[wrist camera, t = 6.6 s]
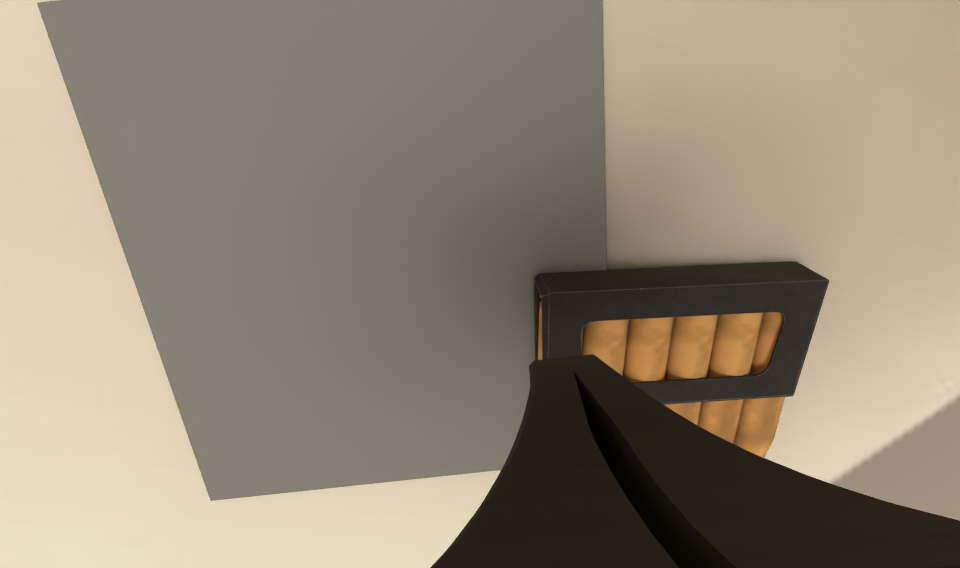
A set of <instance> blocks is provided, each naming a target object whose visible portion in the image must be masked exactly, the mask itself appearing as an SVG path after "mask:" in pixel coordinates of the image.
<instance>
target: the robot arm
mask: <svg viewBox="0 0 960 568" xmlns="http://www.w3.org/2000/svg"><path fill="white" fill-rule="evenodd" d="M529 375H530V390H529V396H528V400H527V404H526V408H525V412H524V416H523V419H522V422H521V425H520V428H519V430H518V433H517V436H516V439H515V442H514V444H513V446H512V449H511V451H510V453H509V456H508V458H507V460H506V462H505V464H504V466H503V468H502V470H501V472H500V474H499V476H498V477H497V479H496V481H495V483H494V484H493V486H492V488H491V489H490V491H489V493H488V494H487V496H486V498H485V499H484V501H483V502H482V504H481V506H480V507H479V509H478V510H477V511H476V513H475V514H474V516H473V517H472V518H471V520H470V521H469V522H468V523H467V525H466V526H465V527H464V529H463V530H462V531H461V533H460V534H459V535H458V537H457V538H456V539H455V540H454V542H453V543H452V544H451V546H450V547H449V548H448V549H447V550H446V551H445V553H444V554H443V555H442V556H441V557H440V558H439V559H438V560H437V561H436V562H435V563H434V564H433V566H432V567H431V568H960V521H958V520H955V519H951V518H947V517H943V516H939V515H935V514H931V513H927V512H923V511H920V510H916V509H912V508H908V507H904V506H900V505H896V504H893V503H889V502H885V501H882V500H879V499H876V498H873V497H870V496H867V495H863V494H860V493H857V492H854V491H851V490H848V489H845V488H841V487H838V486H835V485H833V484H830V483H827V482H824V481H821V480H819V479H816V478H813V477H810V476H807V475H805V474H802V473H800V472H797V471H795V470H792V469H790V468H787V467H785V466H782V465H780V464H777V463H775V462H772V461H770V460H767V459H765V458H763V457H760V456H758V455H756V454H754V453H751V452H749V451H747V450H745V449H743V448H741V447H739V446H737V445H735V444H733V443H731V442H728V441H726V440H724V439H722V438H720V437H718V436H716V435H714V434H712V433H710V432H709V431H707V430H705V429H703V428H701V427H700V426H698V425H696V424H694V423H693V422H691V421H689V420H688V419H686V418H684V417H683V416H681V415H679V414H678V413H676V412H674V411H673V410H671V409H669V408H668V407H666V406H665V405H663V404H662V403H660V402H659V401H657V400H656V399H654V398H653V397H651V396H650V395H648V394H647V393H645V392H644V391H642V390H641V389H640V388H638V387H637V386H635V385H634V384H633V383H631V382H630V381H629V380H627V379H626V378H624V377H623V376H622V375H620V374H619V373H618V372H616V371H615V370H614V369H613V368H611V367H610V366H609V365H607V364H606V363H605V362H603V361H602V360H601V359H599V358H598V357H597V356H595V355H594V354H590V355H581V356H571V357H562V358H553V359H543V360H534V361H533V362H532V363H531V364H530V365H529Z"/></svg>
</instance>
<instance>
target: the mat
mask: <svg viewBox="0 0 960 568" xmlns="http://www.w3.org/2000/svg"><path fill="white" fill-rule="evenodd" d="M37 4H38V7H39V10H40V13H41V16H42V19H43V21H44V24H45V27H46V30H47V33H48V36H49V39H50V42H51V44H52V47H53V50H54V53H55V56H56V59H57V62H58V64H59V67H60V70H61V73H62V76H63V79H64V82H65V85H66V87H67V90H68V93H69V96H70V99H71V102H72V105H73V107H74V110H75V113H76V116H77V119H78V122H79V125H80V128H81V130H82V133H83V136H84V139H85V142H86V145H87V148H88V150H89V153H90V156H91V159H92V162H93V165H94V168H95V171H96V173H97V176H98V179H99V182H100V185H101V188H102V191H103V193H104V196H105V199H106V202H107V205H108V208H109V211H110V214H111V216H112V219H113V222H114V225H115V228H116V231H117V234H118V236H119V239H120V242H121V245H122V248H123V251H124V254H125V256H126V259H127V262H128V265H129V268H130V271H131V274H132V277H133V279H134V282H135V285H136V288H137V291H138V294H139V297H140V299H141V302H142V305H143V308H144V311H145V314H146V317H147V320H148V322H149V325H150V328H151V331H152V334H153V337H154V340H155V342H156V345H157V348H158V351H159V354H160V357H161V360H162V363H163V365H164V368H165V371H166V374H167V377H168V380H169V383H170V385H171V388H172V391H173V394H174V397H175V400H176V403H177V406H178V408H179V411H180V414H181V417H182V420H183V423H184V426H185V428H186V431H187V434H188V437H189V440H190V443H191V446H192V449H193V451H194V454H195V457H196V460H197V463H198V466H199V469H200V471H201V474H202V477H203V480H204V483H205V486H206V489H207V492H208V494H209V497H210V500H211V501H213V500H222V499H232V498H241V497H250V496H260V495H269V494H279V493H288V492H297V491H307V490H316V489H326V488H335V487H344V486H354V485H363V484H373V483H382V482H391V481H401V480H410V479H420V478H429V477H438V476H448V475H457V474H467V473H476V472H485V471H495V470H502V468H503V466H504V464H505V462H506V460H507V458H508V456H509V453H510V451H511V449H512V446H513V444H514V442H515V439H516V436H517V433H518V430H519V428H520V425H521V422H522V419H523V416H524V412H525V408H526V404H527V400H528V396H529V390H530V375H529V365H530V364H531V363H532V362H533V361H534V360H535V320H534V277H536V276H537V275H538V274H539V273H555V272H578V271H601V270H607V250H606V186H605V122H604V58H603V0H60V1H50V2H41V3H37Z"/></svg>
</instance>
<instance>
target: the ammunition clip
mask: <svg viewBox="0 0 960 568" xmlns="http://www.w3.org/2000/svg"><path fill="white" fill-rule="evenodd" d="M828 283H829V280H828V279H826V278H825V277H823V276H821V275H819V274H817V273H816V272H814V271H812V270H810V269H808V268H807V267H805V266H803V265H801V264H799V263H798V262H785V263H762V264H739V265H716V266H693V267H670V268H647V269H624V270H601V271H578V272H555V273H539V274H538V275H537V276H536V277H534V320H535V360H543V359H553V358H562V357H571V356H581V355H590V354H594V355H595V356H597V357H598V358H599V359H601V360H602V361H603V362H605V363H606V364H607V365H609V366H610V367H611V368H613V369H614V370H615V371H616V372H618V373H619V374H620V375H622V376H623V377H624V378H626V379H627V380H629V381H630V382H631V383H633V384H634V385H635V386H637V387H638V388H640V389H641V390H642V391H644V392H645V393H647V394H648V395H650V396H651V397H653V398H654V399H656V400H657V401H659V402H660V403H662V404H663V405H665V406H666V407H668V408H669V409H671V410H673V411H674V412H676V413H678V414H679V415H681V416H683V417H684V418H686V419H688V420H689V421H691V422H693V423H694V424H696V425H698V426H700V427H701V428H703V429H705V430H707V431H709V432H710V433H712V434H714V435H716V436H718V437H720V438H722V439H724V440H726V441H728V442H731V443H733V444H735V445H737V446H739V447H741V448H743V449H745V450H747V451H749V452H751V453H754V454H756V455H758V456H760V457H763V458H764V457H765V454H766V452H767V450H768V449H769V447H770V445H771V444H772V442H773V439H774V436H775V432H776V428H777V425H778V421H779V417H780V413H781V410H782V406H783V402H784V398H785V397H788V396H793V395H794V392H795V389H796V386H797V383H798V379H799V376H800V373H801V370H802V367H803V363H804V360H805V357H806V354H807V351H808V347H809V344H810V341H811V338H812V334H813V331H814V328H815V325H816V322H817V318H818V315H819V312H820V309H821V306H822V302H823V299H824V296H825V293H826V290H827V286H828Z"/></svg>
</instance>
